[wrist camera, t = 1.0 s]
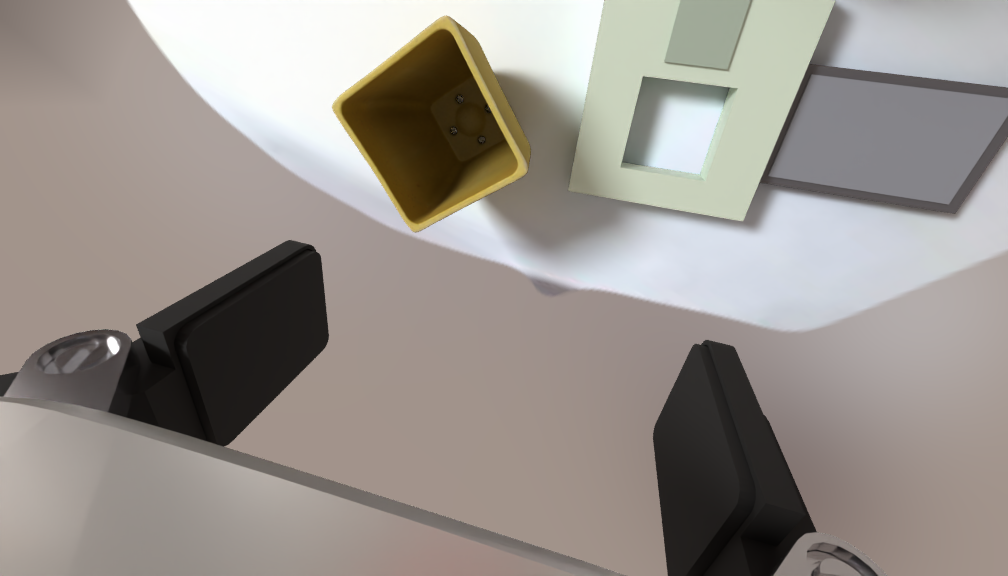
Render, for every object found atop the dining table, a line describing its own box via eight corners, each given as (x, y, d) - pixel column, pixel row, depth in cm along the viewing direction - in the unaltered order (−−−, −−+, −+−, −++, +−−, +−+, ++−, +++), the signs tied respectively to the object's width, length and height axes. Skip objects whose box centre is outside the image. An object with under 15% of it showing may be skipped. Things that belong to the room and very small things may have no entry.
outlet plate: (610, -27, 25) (610, -35, 23) (824, -7, 23) (842, -14, 21) (570, 184, 31) (567, 191, 30) (735, 212, 30) (743, 222, 28)
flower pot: (551, 147, 31) (531, 174, 23) (457, 197, 34) (411, 236, 26) (493, 26, 28) (448, 10, 20) (397, 95, 31) (327, 104, 24)
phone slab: (795, 63, 25) (803, 63, 24) (1022, 90, 23) (1039, 91, 22) (749, 178, 28) (753, 181, 28) (944, 209, 27) (956, 214, 26)
